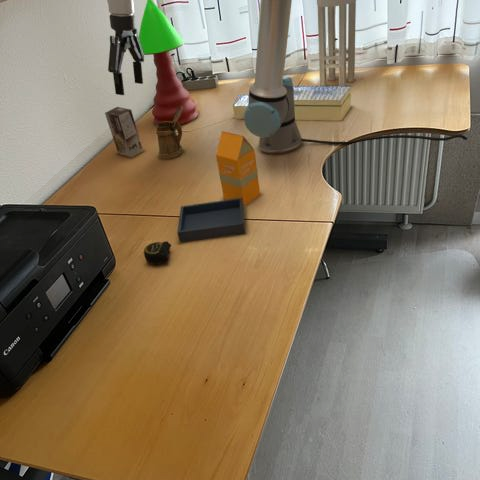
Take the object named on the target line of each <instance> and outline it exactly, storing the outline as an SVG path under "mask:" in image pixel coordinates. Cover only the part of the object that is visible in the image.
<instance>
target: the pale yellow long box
mask: <svg viewBox="0 0 480 480" xmlns="http://www.w3.org/2000/svg"><path fill="white" fill-rule="evenodd" d="M293 86H294V88H293V93H294V109H295V121H334V122H335V121H338V122H339V121H340V122H341V121H343V119H344V118H345V116H346V114H347V113H348V111H349V110H350V109H351V107H352V103H351V102H352V93H351V92H352V85H346V86H345V87H343V86H340V87H339V85H327V86H320V85H293ZM248 102H249V94H240V95H237V96H236V97H235V100H234V102H233V104H232V108H233V115H234V119H242V120H244V113H245V110H246V108H247V107H248Z"/></svg>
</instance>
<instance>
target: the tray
mask: <svg viewBox="0 0 480 480" xmlns="http://www.w3.org/2000/svg"><path fill="white" fill-rule="evenodd" d="M179 209H180V210H179V218H178V226H177V231H176V232H177V236H178V240H179V243H184V242H192V241H193V242H194V241H199V240H200V241H201V240H208V239H215V238H222V237H229V236H237V235H243V234H246V227H245V225H246V224H245V212H244V211H245V209H244V205H243V201H242V198H237V199H229V200H226V199H224V200H223V199H222V200H215V201H209V202H208V201H207V202H202V203H195V204H194V203H193V204H187V205H181V206H180V208H179Z"/></svg>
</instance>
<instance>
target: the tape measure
mask: <svg viewBox="0 0 480 480" xmlns="http://www.w3.org/2000/svg"><path fill="white" fill-rule="evenodd" d="M171 247H172V244H171V243H169V241H168V240H167V241H163V242H162V241H156V242H151V243H149V244H147V245H146V246H145V247H144V249H143V256H144V259H145V261H146V262H147V263H148V264H150V265H151V264H152V265H158V264H163V263H167V262H168V261H169V254H170V252H171V251H170V250H171Z"/></svg>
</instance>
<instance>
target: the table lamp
mask: <svg viewBox="0 0 480 480" xmlns="http://www.w3.org/2000/svg"><path fill="white" fill-rule="evenodd" d="M138 37H139V41H140V44H141V47H142V50H143V53H144V56H150V55H151V56H152V55H153V64H154V66H155V68H156V69H155V70H156V71H155V75H156V80H157V81H156V84H155V92H156V93H155V95H154V97H153V99H152V100H153V101H152V102H153V104H154V106H153V108H151V115H152V116H153V124H155V125H157V124H158V123H161V122H165V121H170V122H172V119H173V116H174V114H175V112H176V111H177V109H178V108H179V106H181V105H182V107H183V110H182V113H181V115H180V117H179V119H178V123H179V124H180V126H182V125H185V124H188V123H190V122H192V121H194V120H195V119H196V118H197V117H198V115H199V111H198V110H197V109H196V108H197V103H196V101H195V100H194V99H192V98H191V97H190V96H191V95H190V92H189V91H188V89H186V88H185V87H184V86H183V81H181V79H180V78H179V77H178V76H177V71H176V69H175V67H174V66H173V58H172V55H171V51H174V50H176V49H178V48H180V47H182V46H183V45H184V44H185V40H184V39H183V38H182V36H181V35H180V34H179V32H178V31H177V30H176V28H175V27H174V26H173V24H172V23H171V21H170V20H169V19H168V17H167V16H166V15H165V14H164V12H162V10H161V9H160V8H159V7H158V6H157V5H156V3H155V2H153V0H147V1H146V3H145V7H144V11H143V14H142V18H141V22H140V27H139V31H138ZM139 54H140V53H139Z"/></svg>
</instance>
